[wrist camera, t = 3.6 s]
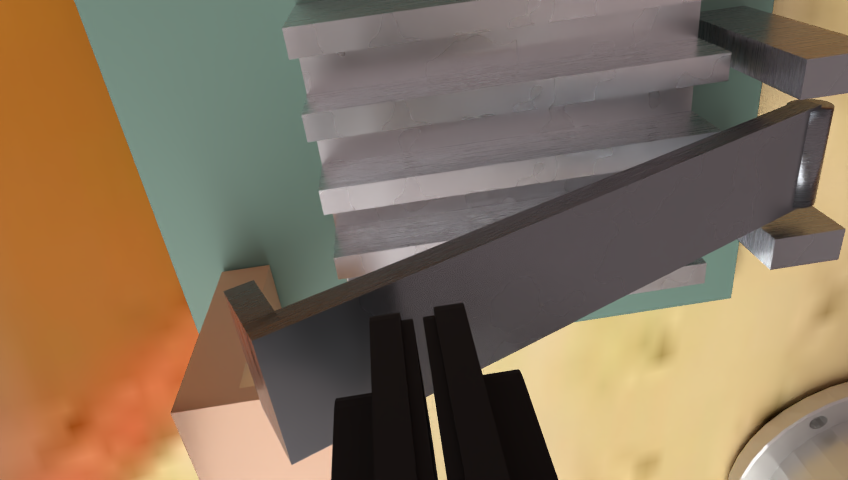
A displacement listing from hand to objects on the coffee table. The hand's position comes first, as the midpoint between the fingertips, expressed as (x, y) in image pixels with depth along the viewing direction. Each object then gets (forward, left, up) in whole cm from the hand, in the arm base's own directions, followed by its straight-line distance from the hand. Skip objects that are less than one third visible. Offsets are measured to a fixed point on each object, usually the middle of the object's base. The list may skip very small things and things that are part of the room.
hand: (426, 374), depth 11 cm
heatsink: (-5, 0, -12) cm, 13 cm away
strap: (-4, 0, -5) cm, 6 cm away
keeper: (+4, +6, -12) cm, 14 cm away
